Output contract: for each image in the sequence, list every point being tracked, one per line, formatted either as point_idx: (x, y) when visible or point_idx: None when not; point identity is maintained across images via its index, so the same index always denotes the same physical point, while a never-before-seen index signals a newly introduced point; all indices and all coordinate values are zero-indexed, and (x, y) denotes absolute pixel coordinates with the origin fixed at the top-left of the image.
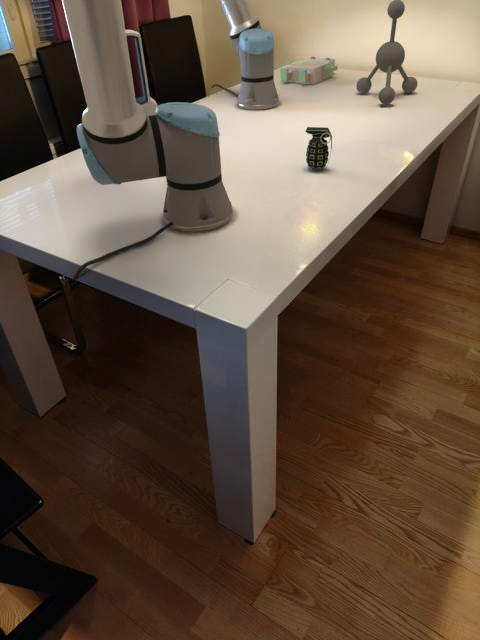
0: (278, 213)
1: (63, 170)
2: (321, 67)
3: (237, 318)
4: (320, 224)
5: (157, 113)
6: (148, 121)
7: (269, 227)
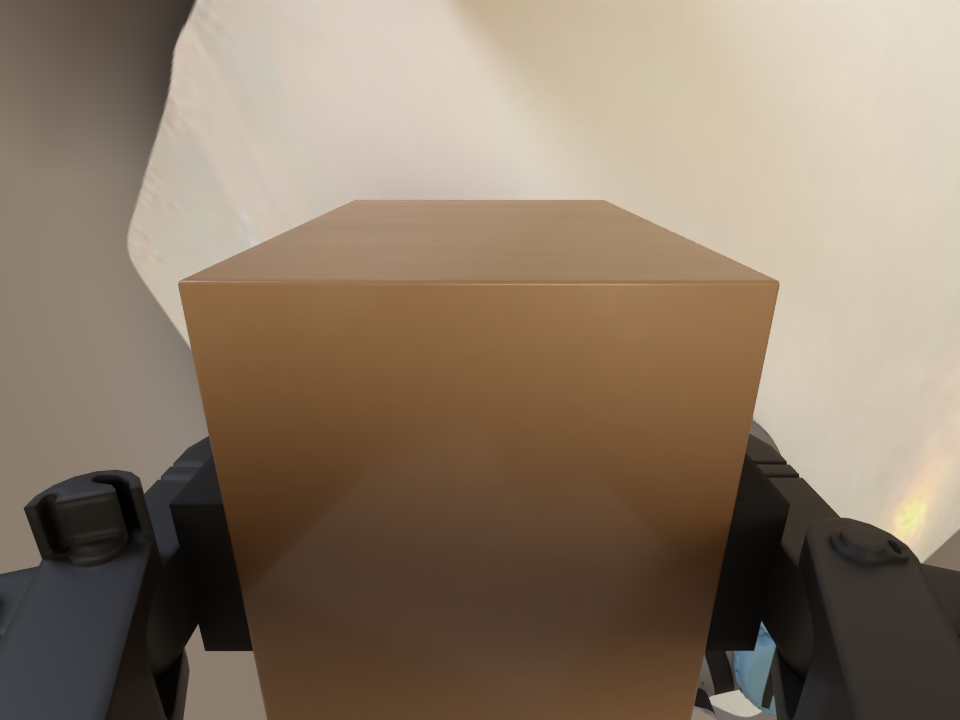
0: (869, 459)
1: (259, 165)
2: None
3: (743, 710)
4: (937, 503)
5: (741, 688)
6: (710, 693)
7: (836, 511)
